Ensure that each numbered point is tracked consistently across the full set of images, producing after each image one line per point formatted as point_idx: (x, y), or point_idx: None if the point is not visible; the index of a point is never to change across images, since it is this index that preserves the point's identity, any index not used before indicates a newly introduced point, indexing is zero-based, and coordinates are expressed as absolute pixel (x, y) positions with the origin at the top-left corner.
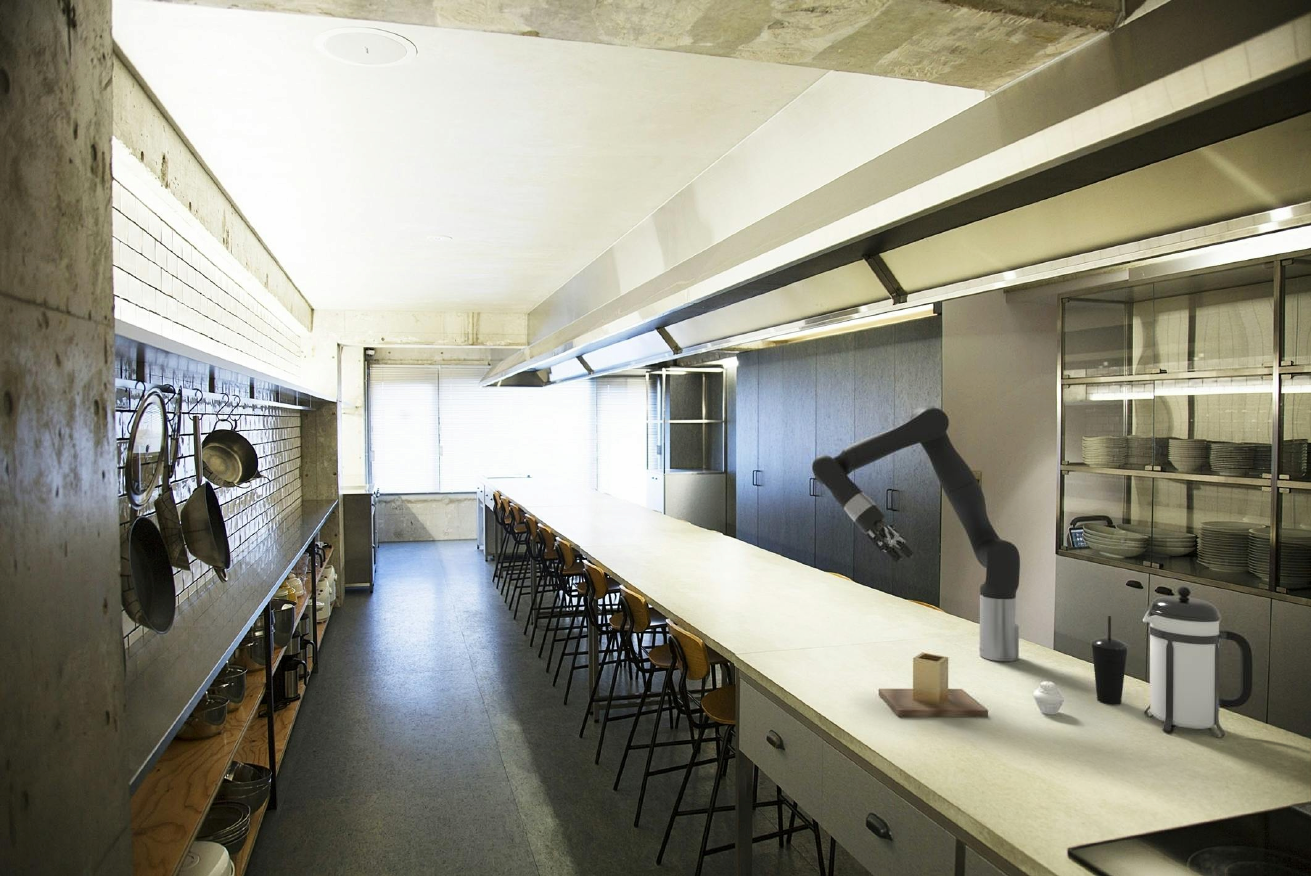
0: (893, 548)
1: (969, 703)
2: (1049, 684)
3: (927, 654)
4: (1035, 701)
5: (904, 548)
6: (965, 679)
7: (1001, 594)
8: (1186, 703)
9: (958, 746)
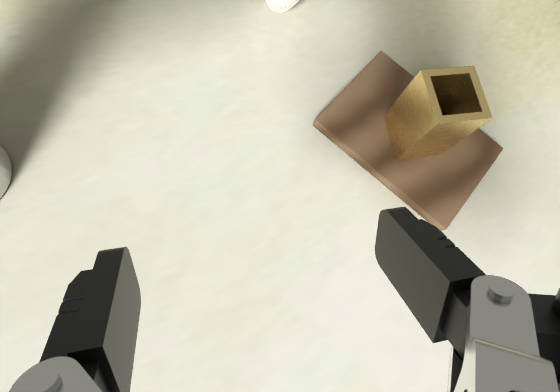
0: (462, 264)
1: (376, 81)
2: None
3: (440, 109)
4: (292, 5)
5: (123, 337)
6: (213, 157)
7: None
8: None
9: (508, 49)
